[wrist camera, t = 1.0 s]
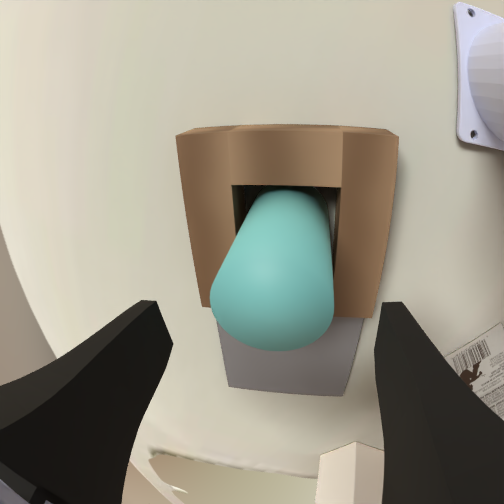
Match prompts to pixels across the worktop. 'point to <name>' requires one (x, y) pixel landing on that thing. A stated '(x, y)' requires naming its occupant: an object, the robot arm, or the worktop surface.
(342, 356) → the mat
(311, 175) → the socket block
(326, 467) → the milk
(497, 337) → the coffee box
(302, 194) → the plug
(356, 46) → the worktop surface
